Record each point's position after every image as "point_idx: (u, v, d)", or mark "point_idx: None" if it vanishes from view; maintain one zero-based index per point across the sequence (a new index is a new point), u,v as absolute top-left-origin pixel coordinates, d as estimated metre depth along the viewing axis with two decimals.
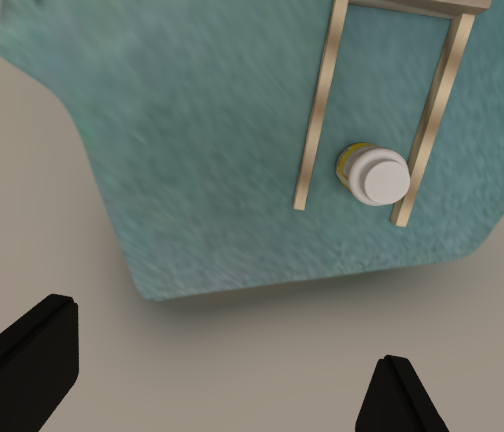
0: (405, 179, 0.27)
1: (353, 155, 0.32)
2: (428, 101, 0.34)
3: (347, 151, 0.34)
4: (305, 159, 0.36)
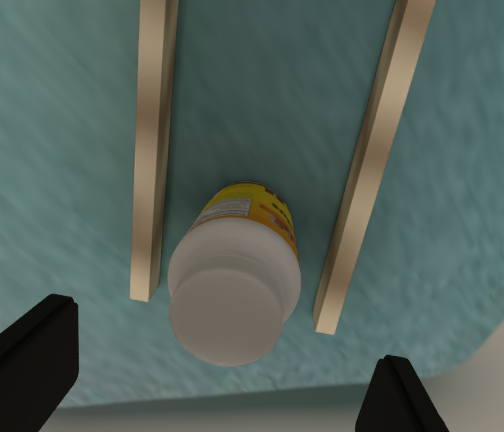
0: (269, 314, 0.10)
1: (194, 222, 0.14)
2: (370, 104, 0.17)
3: (209, 202, 0.17)
4: (136, 213, 0.18)
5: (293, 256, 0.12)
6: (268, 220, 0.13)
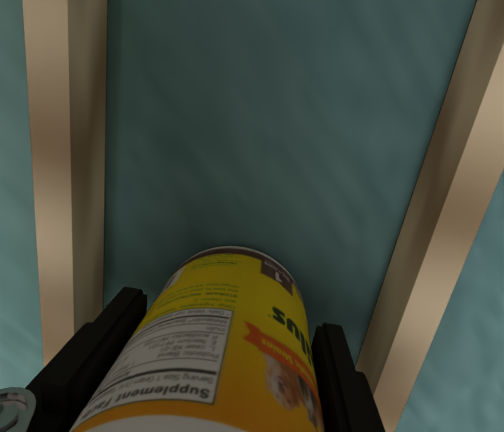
0: None
1: (112, 368, 0.07)
2: (444, 123, 0.10)
3: (162, 292, 0.10)
4: (45, 302, 0.11)
5: None
6: (264, 396, 0.06)
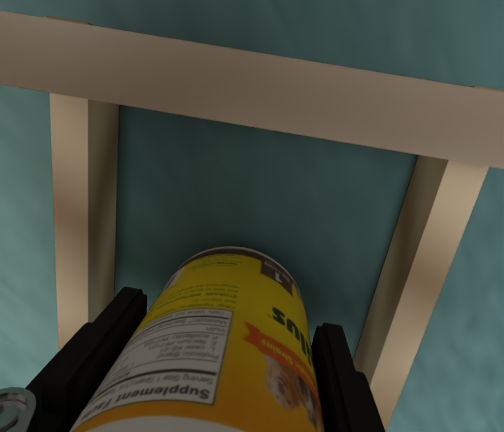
0: None
1: (112, 368, 0.07)
2: (364, 343, 0.13)
3: (162, 293, 0.10)
4: None
5: None
6: (264, 397, 0.06)
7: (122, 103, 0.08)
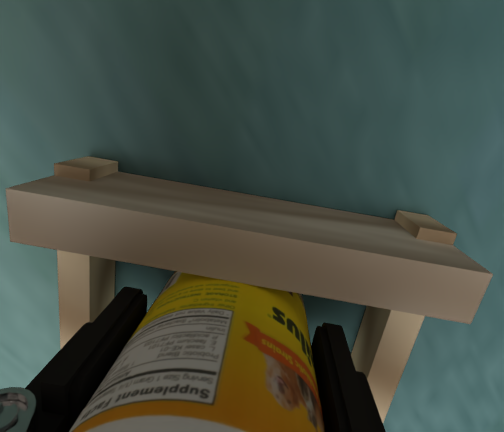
0: None
1: (112, 368, 0.07)
2: None
3: (162, 292, 0.10)
4: None
5: None
6: (264, 396, 0.06)
7: (118, 259, 0.09)
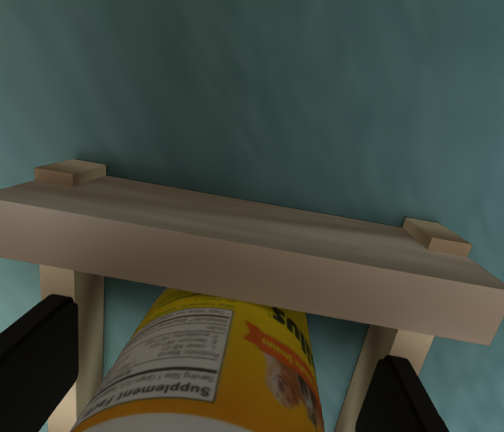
0: None
1: (113, 367, 0.07)
2: None
3: (163, 292, 0.10)
4: None
5: None
6: (264, 394, 0.06)
7: (102, 273, 0.08)
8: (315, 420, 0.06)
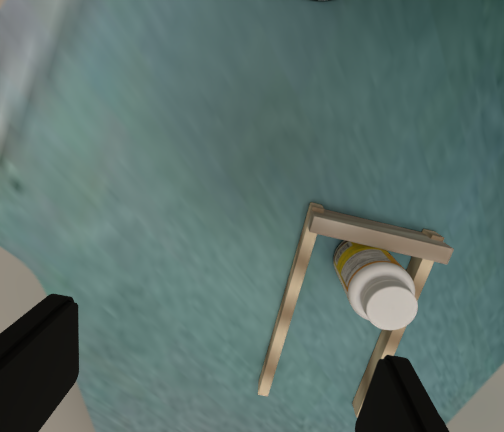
0: (412, 307, 0.24)
1: (354, 261, 0.28)
2: None
3: (347, 248, 0.31)
4: (271, 354, 0.36)
5: None
6: (398, 263, 0.27)
7: (342, 239, 0.30)
8: None
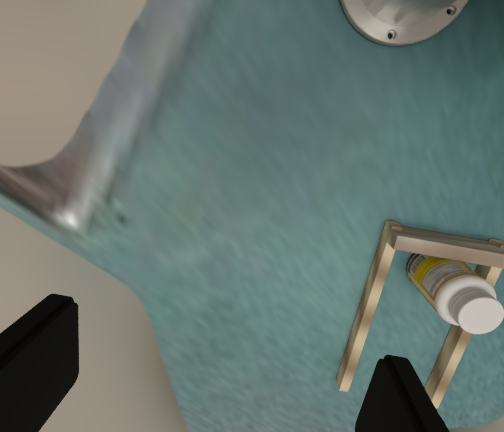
0: (499, 313, 0.28)
1: (437, 273, 0.32)
2: None
3: (424, 260, 0.35)
4: (351, 355, 0.41)
5: (494, 290, 0.30)
6: None
7: None
8: None
